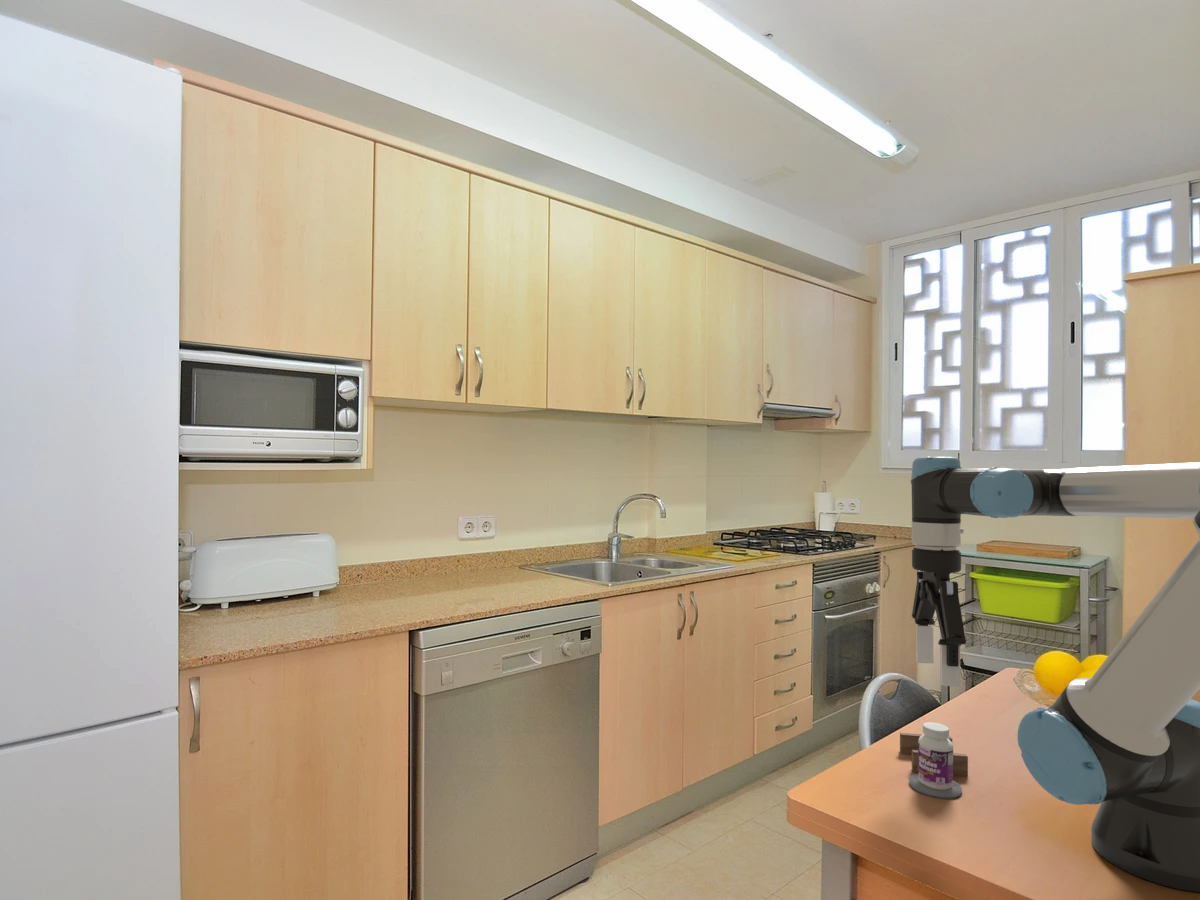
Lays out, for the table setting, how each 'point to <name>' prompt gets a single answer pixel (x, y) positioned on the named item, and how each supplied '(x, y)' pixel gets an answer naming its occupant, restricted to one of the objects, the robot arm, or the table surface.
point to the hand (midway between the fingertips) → (936, 673)
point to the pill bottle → (935, 757)
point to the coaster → (944, 794)
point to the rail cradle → (911, 747)
